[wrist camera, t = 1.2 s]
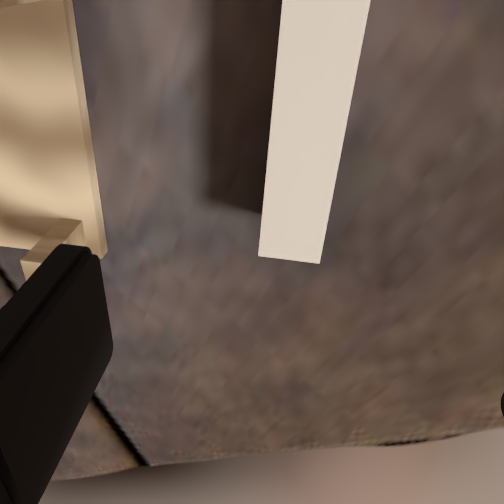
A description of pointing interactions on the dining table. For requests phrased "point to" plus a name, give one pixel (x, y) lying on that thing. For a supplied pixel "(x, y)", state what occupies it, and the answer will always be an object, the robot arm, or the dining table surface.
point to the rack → (45, 135)
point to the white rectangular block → (308, 122)
